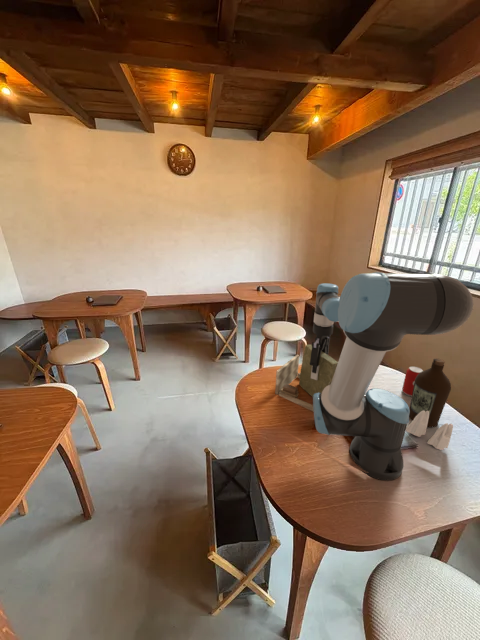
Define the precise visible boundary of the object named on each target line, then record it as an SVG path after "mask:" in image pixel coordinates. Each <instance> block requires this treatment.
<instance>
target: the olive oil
mask: <svg viewBox="0 0 480 640" xmlns="http://www.w3.org/2000/svg"><path fill="white" fill-rule="evenodd" d="M444 367H445V360H444V359H442V358H437V357H435V358H433V361H432V362H431V366H430V368H428V369H425V370H423V371H422V372H420V373H419V374H418V375H417V377H416V378H415V382H414V388H413V393H412V397H411V399H410V404H409V410H410V413H409V420H411V422H412V421H413V420H414V418H415V417H416V416H417V415H418V414H419V413H420V412H421V411H423V410H424V411H425V412H426V411H429V419H428V424H427V428H435V427H437V426H438V425H439V422H440V419H441V416H442V413H443V410H444V407H445V405H446V404H447V401H448V398H449V395H450V393H451V390H452V383H451V380H450V379H449V377H448V376H447V375H446V374H445V372H444Z"/></svg>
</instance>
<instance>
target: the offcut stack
mask: <svg viewBox="0 0 480 640" xmlns="http://www.w3.org/2000/svg"><path fill="white" fill-rule="evenodd" d="M280 392H283V393H285V394H288V395H290V396H292V397H295V398H297V399H298V396H299V394H300V393H299V387H296V386H293V385H291V384H285V385H284V386H283V388H282V389H281V390H280Z"/></svg>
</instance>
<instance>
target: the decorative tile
mask: <svg viewBox="0 0 480 640" xmlns="http://www.w3.org/2000/svg"><path fill="white" fill-rule="evenodd" d="M311 352H312V344H306V345H305V346H304V351H303V355H302V361H301V367H300V372H299V373H300V378H299V382H298V384H299V386H300V387H301V388H302V389H303V390H304V392H306V393H307V394H309V395H310V396H311V397H312V398H313V395H314V394H315V393H322V391H323V390H324V388H325V387H326V386H328V385H330V384H331V382H332V379H333V376H334V373H335V370H336V367H337V364H338V361H339V360H338V361H337V360H336V359H335V358H333V357H332V356H331V355H329V354H328V355H327V354H325V353H324V352H322V351H321V356H320V360H319V373H318V380H315V379H312V378H311V370H312V365H310V359H311Z"/></svg>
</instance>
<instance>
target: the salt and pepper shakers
mask: <svg viewBox="0 0 480 640" xmlns="http://www.w3.org/2000/svg"><path fill="white" fill-rule="evenodd" d="M428 419H429V411H426V412H425V411H424V410H423V411H421V412H420V413H419V414H418V415H417V416H416V417H415V418H414V420H413V421H412V420H411V422H410V424H409V423H408V425H407V427H406V430H405V432H407V433H409V434H412V435H414V436H416V437H418V438H421V437H422V436H425V435H426V432H427V428H428V427H427V424H428ZM453 429H454V424H452V423H447V422H446V423H444V424H442V425H441V426H439V427H438V428H437V429H436V431H435V433H434V434H433V435H432V436H431V437H430V438H429V439H428V440H427V441H426V443H427V444H428V445H431V446H433V447H434V448H435V449H437V450H440V451H445V449H448V447H449V446H450V445H449V444H450V440H451V437H452V434H453Z"/></svg>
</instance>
